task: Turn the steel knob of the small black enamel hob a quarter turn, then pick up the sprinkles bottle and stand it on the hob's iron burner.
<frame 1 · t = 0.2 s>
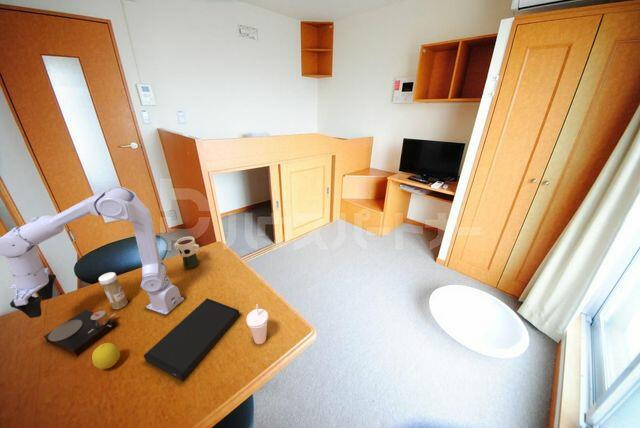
hand: (41, 307, 72), 10 cm above the table, tool pointing down, fingers open, 7 cm apart
character mug: (191, 265, 108), on the table
hob: (83, 333, 76), on the table
sprinkles bottle: (120, 305, 86), on the table
hob knob: (100, 318, 75), point 4 cm above the table, hinge at 0.0°
burner: (69, 335, 75), resting on hob
lemon: (111, 365, 67), on the table
external hard drive: (197, 337, 75), on the table
smoothie: (260, 339, 75), on the table
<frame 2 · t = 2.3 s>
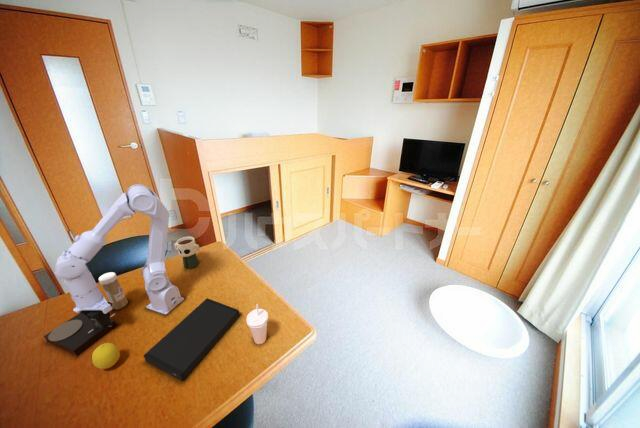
hand: (101, 322, 76), 3 cm above the table, tool pointing down, fingers closed on hob knob, 3 cm apart
hob knob: (100, 318, 75), point 4 cm above the table, hinge at 0.0°, touching gripper
everything else where it was.
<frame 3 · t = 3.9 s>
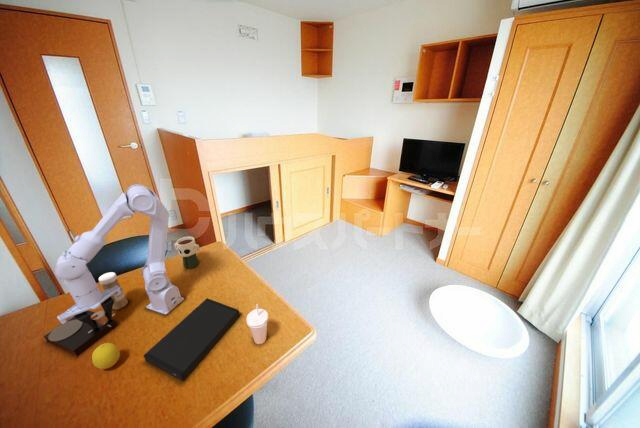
hand: (101, 322, 76), 3 cm above the table, tool pointing down, fingers closed on hob knob, 4 cm apart
hob knob: (100, 318, 75), point 4 cm above the table, hinge at 79.8°, touching gripper
everything else where it was.
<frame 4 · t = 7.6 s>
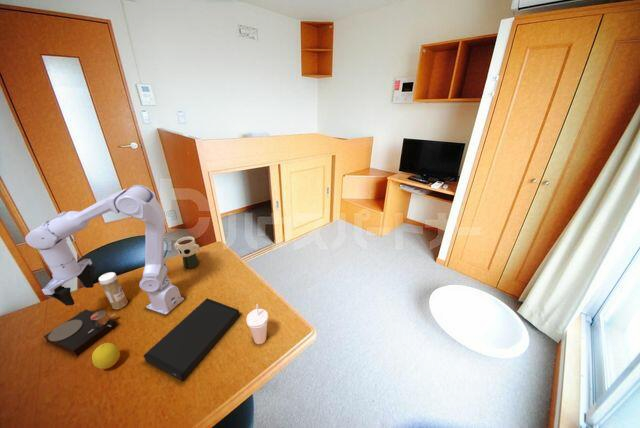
hand: (80, 295, 77), 10 cm above the table, tool pointing down, fingers open, 7 cm apart
hob knob: (100, 318, 75), point 4 cm above the table, hinge at 79.7°
everything else where it was.
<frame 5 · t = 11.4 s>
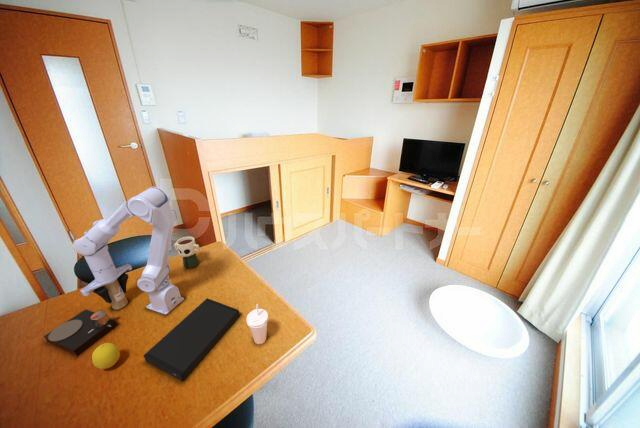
hand: (116, 297, 85), 4 cm above the table, tool pointing down, fingers closed on sprinkles bottle, 4 cm apart
sprinkles bottle: (120, 305, 86), on the table, touching gripper
everything else where it was.
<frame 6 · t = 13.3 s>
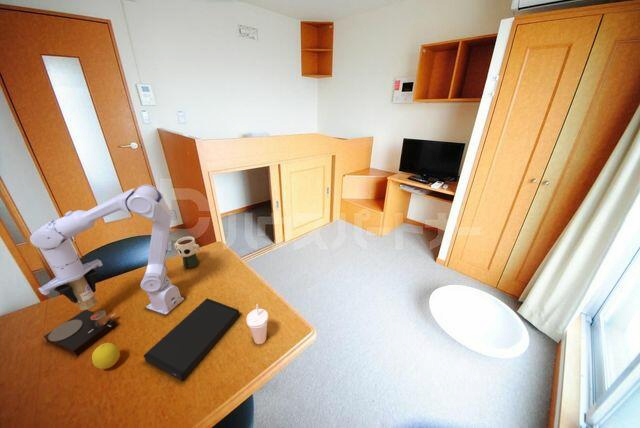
hand: (84, 296, 76), 10 cm above the table, tool pointing down, fingers closed on sprinkles bottle, 4 cm apart
sprinkles bottle: (89, 305, 78), point 6 cm above the table, touching gripper
everything else where it was.
when the fingers open (7 cm above the table, at t = 15.5 s): sprinkles bottle stays where it is, resting on burner.
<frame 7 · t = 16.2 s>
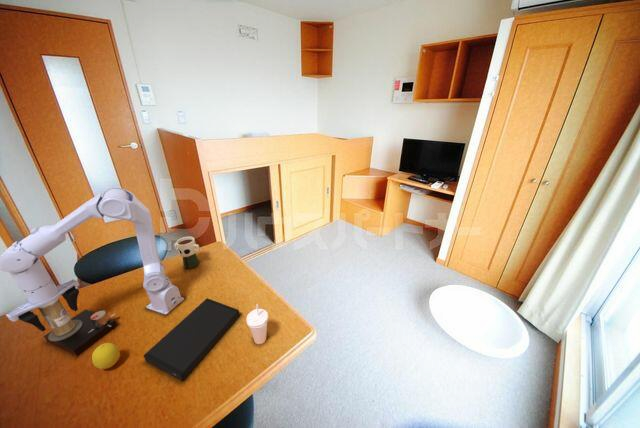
hand: (59, 319, 71), 7 cm above the table, tool pointing down, fingers open, 7 cm apart
sprinkles bottle: (65, 330, 74), point 3 cm above the table, touching burner
everything else where it was.
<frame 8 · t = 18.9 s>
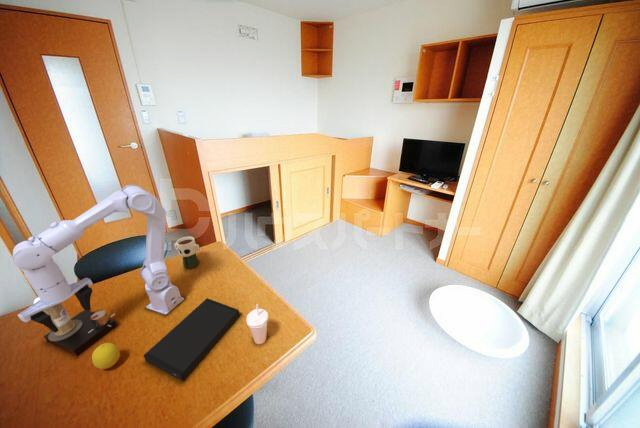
hand: (71, 319, 68), 10 cm above the table, tool pointing down, fingers open, 7 cm apart
nothing on the table moved.
at the end: hob knob at +80° (first picture: +0°); sprinkles bottle 0.0 cm from the target spot on the hob, point 2.6 cm above the hob's base; sprinkles bottle tilted 0° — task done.
